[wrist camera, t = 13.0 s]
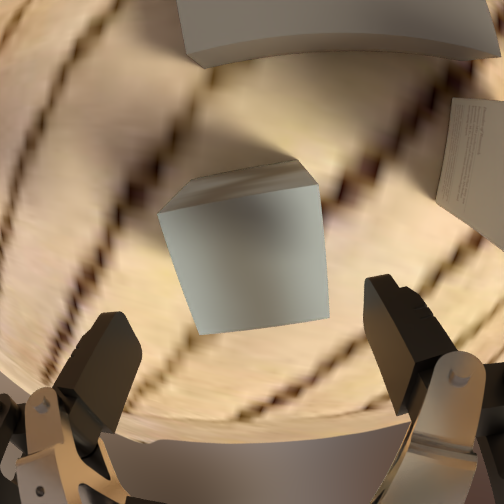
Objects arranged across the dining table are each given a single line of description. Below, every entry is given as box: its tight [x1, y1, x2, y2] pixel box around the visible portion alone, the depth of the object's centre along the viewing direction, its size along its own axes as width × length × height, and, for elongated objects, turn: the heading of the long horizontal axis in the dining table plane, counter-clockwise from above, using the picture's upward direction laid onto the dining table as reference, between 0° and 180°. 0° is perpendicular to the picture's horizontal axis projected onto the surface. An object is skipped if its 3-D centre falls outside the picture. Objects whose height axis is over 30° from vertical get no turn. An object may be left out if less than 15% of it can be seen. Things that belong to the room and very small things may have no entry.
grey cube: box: [157, 160, 330, 335], centre depth 14 cm, size 6×6×6 cm
